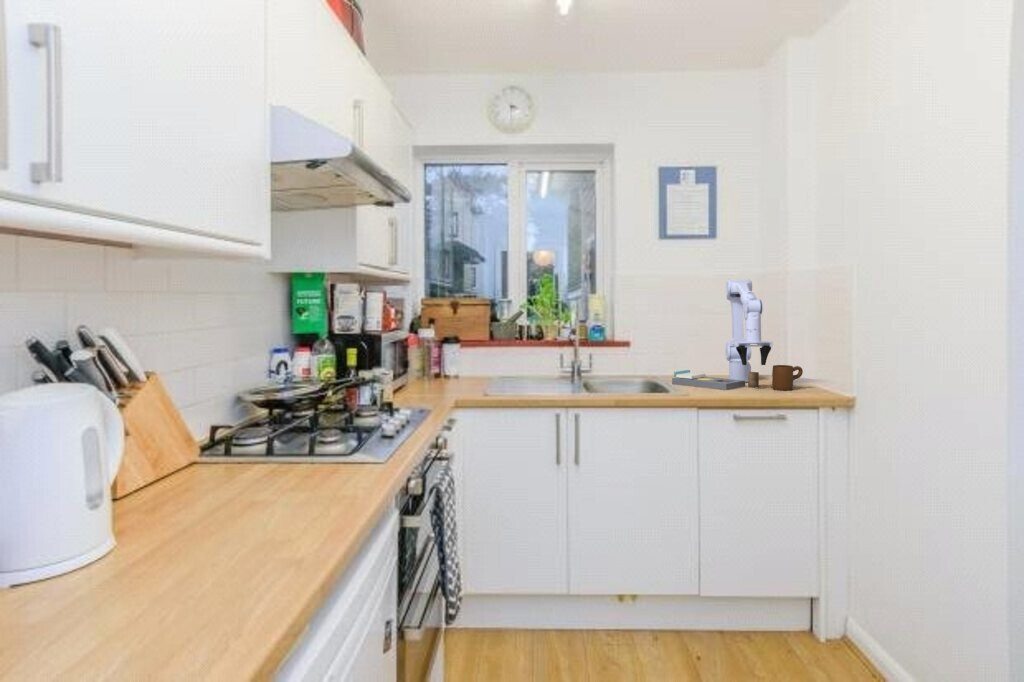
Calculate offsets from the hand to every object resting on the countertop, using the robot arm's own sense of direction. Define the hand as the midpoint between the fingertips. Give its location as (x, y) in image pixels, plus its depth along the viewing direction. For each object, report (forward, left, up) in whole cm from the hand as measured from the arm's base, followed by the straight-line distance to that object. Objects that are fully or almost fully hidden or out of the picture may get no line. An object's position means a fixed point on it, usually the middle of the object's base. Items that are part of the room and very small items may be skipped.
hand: (753, 365), depth 250 cm
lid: (-2, -31, -7) cm, 32 cm away
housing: (-2, -22, -10) cm, 24 cm away
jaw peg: (-10, -6, -10) cm, 15 cm away
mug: (-13, +7, -10) cm, 18 cm away
